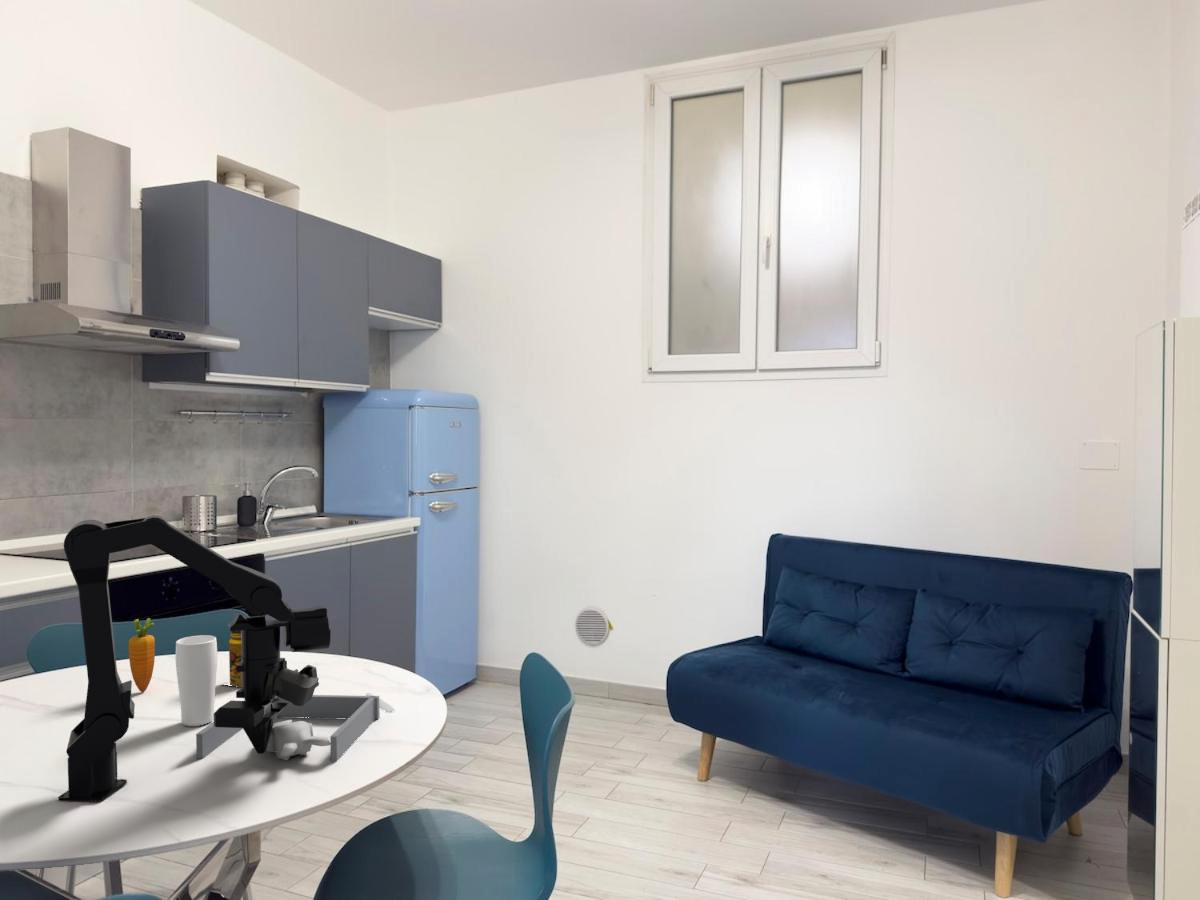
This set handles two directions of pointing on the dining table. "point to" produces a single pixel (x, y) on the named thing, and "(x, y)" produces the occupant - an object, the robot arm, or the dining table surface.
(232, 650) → the condiment
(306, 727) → the white rounded figure
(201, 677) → the drinking glass
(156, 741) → the dining table surface
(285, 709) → the grey u-shaped fence
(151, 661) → the carrot
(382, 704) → the butter knife
